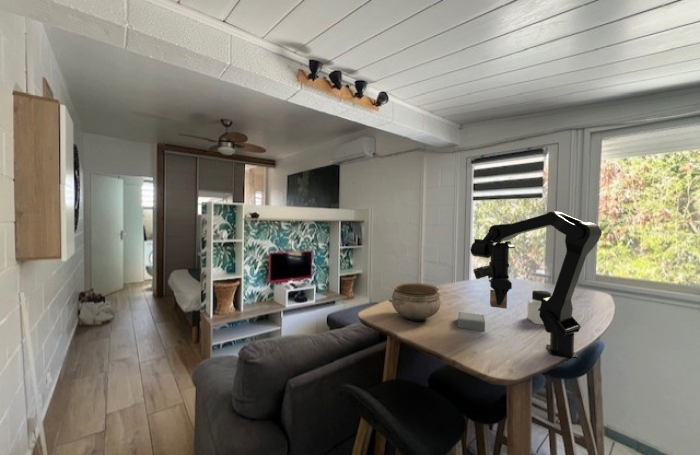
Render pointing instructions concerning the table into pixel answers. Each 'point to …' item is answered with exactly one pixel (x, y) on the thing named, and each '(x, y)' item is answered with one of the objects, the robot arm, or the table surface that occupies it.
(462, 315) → the grey-green flat square block
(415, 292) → the cooking pot
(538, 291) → the medicine bottle
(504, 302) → the walnut cube
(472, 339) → the table surface
